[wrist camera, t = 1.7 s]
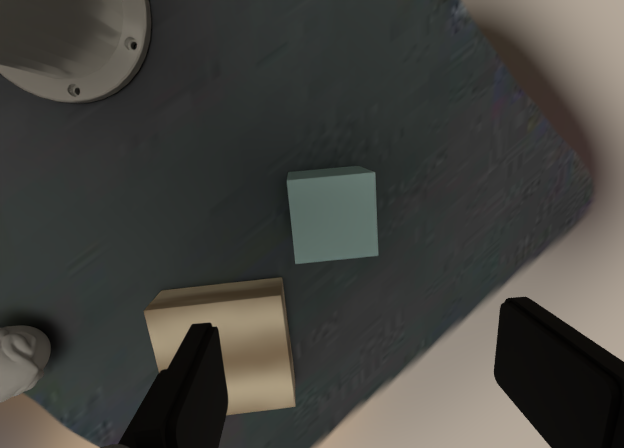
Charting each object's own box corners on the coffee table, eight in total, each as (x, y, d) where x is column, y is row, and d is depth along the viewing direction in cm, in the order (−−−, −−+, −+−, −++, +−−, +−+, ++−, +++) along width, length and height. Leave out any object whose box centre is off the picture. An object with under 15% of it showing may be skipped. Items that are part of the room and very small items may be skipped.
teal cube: (288, 172, 28) (286, 180, 22) (358, 165, 28) (375, 172, 22) (295, 239, 29) (295, 264, 23) (361, 232, 29) (378, 255, 24)
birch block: (162, 288, 30) (143, 310, 26) (282, 275, 30) (280, 295, 26) (186, 388, 33) (171, 421, 29) (294, 375, 33) (295, 406, 29)
